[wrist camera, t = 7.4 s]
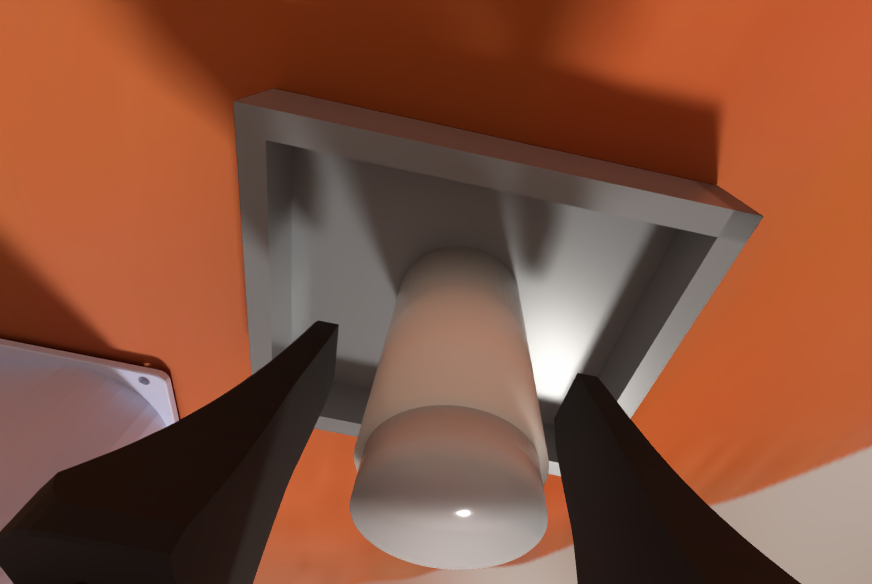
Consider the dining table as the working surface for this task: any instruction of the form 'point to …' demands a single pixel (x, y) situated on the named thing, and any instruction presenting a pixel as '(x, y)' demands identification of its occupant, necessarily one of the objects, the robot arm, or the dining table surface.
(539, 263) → the tray
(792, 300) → the dining table surface
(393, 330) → the shaker
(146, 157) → the dining table surface
